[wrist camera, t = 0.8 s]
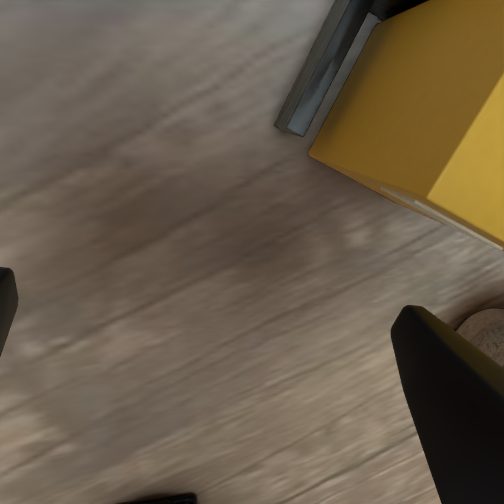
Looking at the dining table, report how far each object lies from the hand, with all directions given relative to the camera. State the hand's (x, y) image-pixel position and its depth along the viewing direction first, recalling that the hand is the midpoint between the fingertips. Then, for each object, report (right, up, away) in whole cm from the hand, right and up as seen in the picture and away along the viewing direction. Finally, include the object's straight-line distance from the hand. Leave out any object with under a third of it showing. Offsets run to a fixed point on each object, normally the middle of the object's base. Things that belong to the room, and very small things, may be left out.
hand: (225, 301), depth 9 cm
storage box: (+8, +9, +13) cm, 18 cm away
